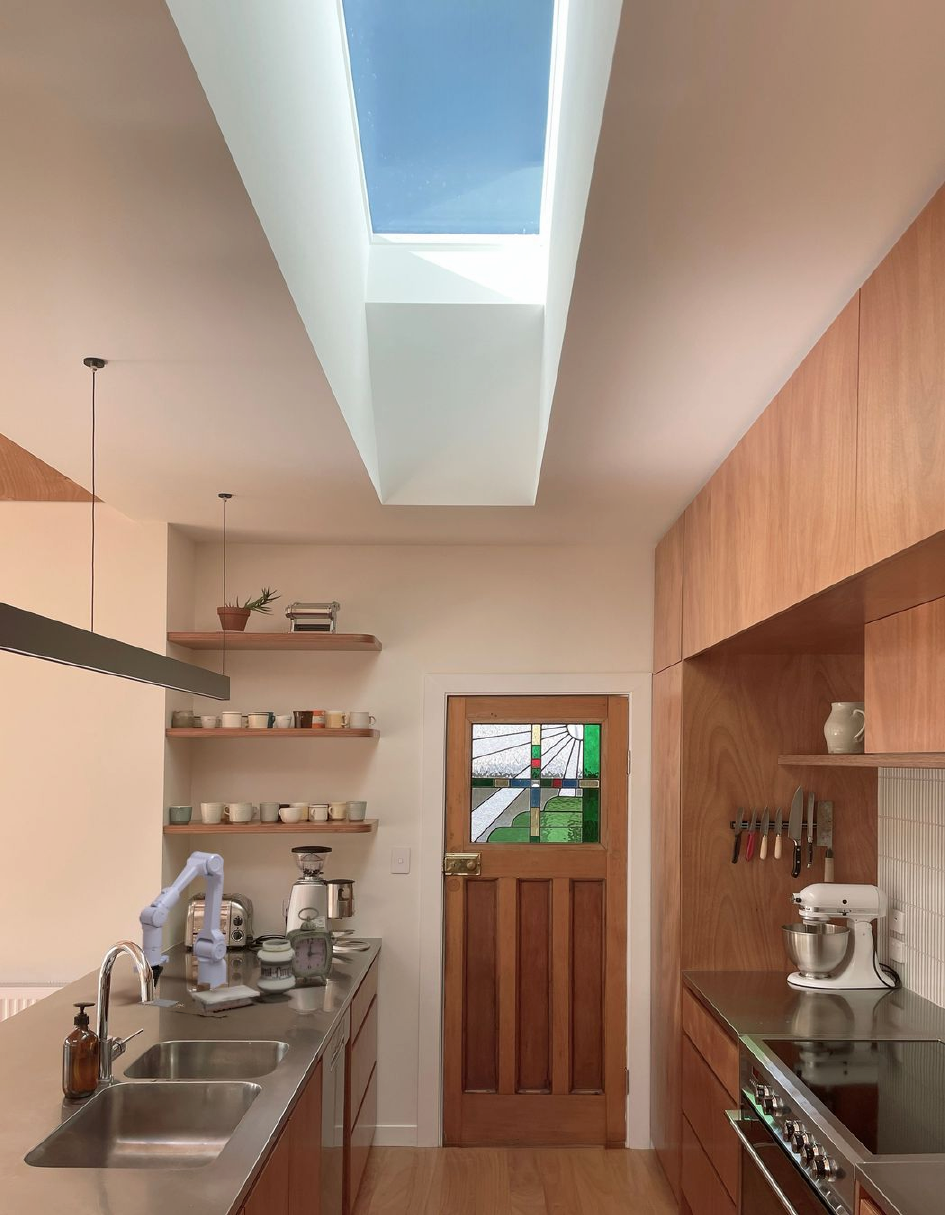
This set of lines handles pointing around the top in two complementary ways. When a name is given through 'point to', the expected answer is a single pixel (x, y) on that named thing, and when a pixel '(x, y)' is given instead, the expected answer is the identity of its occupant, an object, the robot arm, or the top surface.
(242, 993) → the packaged product
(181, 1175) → the top surface
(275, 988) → the apothecary jar
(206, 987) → the brown and white block
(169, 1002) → the slate pad
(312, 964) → the tabletop clock
